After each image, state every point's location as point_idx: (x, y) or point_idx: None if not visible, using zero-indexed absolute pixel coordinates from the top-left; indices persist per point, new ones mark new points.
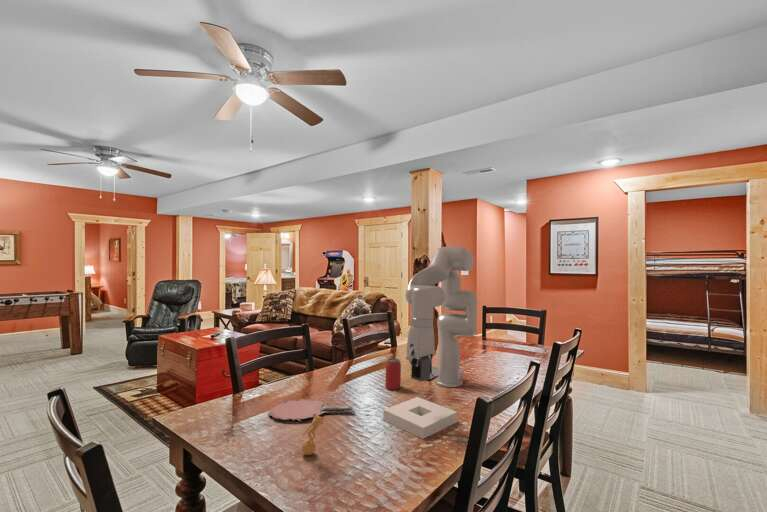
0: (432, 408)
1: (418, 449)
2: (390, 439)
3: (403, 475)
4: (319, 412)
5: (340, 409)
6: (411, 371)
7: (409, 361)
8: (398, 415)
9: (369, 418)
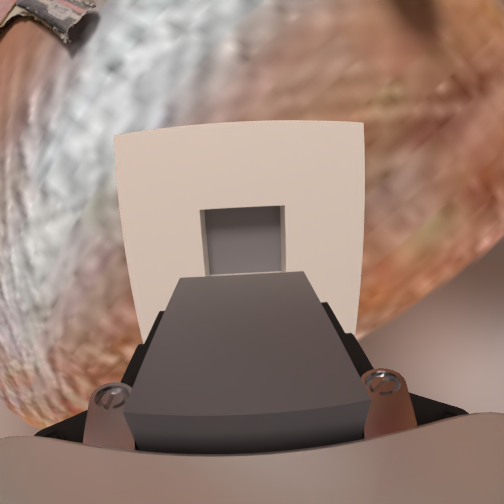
0: (310, 265)
1: (109, 356)
2: (70, 271)
3: (38, 386)
4: (1, 18)
5: (46, 18)
6: (168, 303)
7: (43, 431)
8: (128, 224)
9: (98, 98)
